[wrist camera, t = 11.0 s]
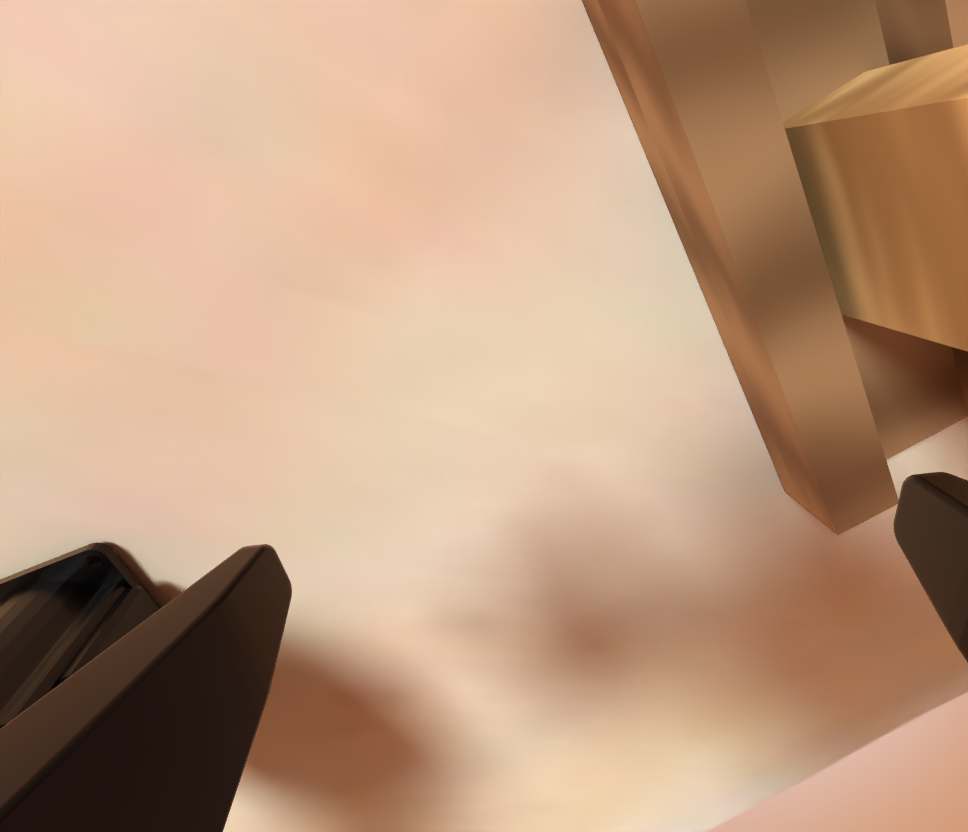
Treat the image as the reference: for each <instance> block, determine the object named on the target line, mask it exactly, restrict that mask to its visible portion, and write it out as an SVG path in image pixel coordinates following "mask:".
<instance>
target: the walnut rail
mask: <svg viewBox="0 0 968 832" xmlns="http://www.w3.org/2000/svg"><path fill="white" fill-rule="evenodd" d="M582 2H583V4H584V6H585V9H586V11H587V14H588V16H589V19H590V21H591V23H592V26H593V28H594V31H595V33H596V35H597V38H598V40H599V43H600V45H601V48H602V50H603V52H604V55H605V57H606V60H607V62H608V64H609V67H610V69H611V72H612V74H613V77H614V79H615V81H616V84H617V86H618V89H619V91H620V94H621V96H622V98H623V101H624V103H625V106H626V108H627V110H628V113H629V115H630V118H631V120H632V123H633V125H634V127H635V130H636V132H637V135H638V137H639V140H640V142H641V144H642V147H643V149H644V152H645V154H646V156H647V159H648V161H649V164H650V166H651V169H652V171H653V173H654V176H655V178H656V181H657V183H658V185H659V188H660V190H661V193H662V195H663V198H664V200H665V202H666V205H667V207H668V210H669V212H670V215H671V217H672V219H673V222H674V224H675V227H676V229H677V231H678V234H679V236H680V239H681V241H682V244H683V246H684V248H685V251H686V253H687V256H688V258H689V261H690V263H691V265H692V268H693V270H694V273H695V275H696V277H697V280H698V282H699V285H700V287H701V290H702V292H703V294H704V297H705V299H706V302H707V304H708V306H709V309H710V311H711V314H712V316H713V319H714V321H715V323H716V326H717V328H718V331H719V333H720V336H721V338H722V340H723V343H724V345H725V348H726V350H727V352H728V355H729V357H730V360H731V362H732V365H733V367H734V369H735V372H736V374H737V377H738V379H739V382H740V384H741V386H742V389H743V391H744V394H745V396H746V398H747V401H748V403H749V406H750V408H751V411H752V413H753V415H754V418H755V420H756V423H757V425H758V427H759V430H760V432H761V435H762V437H763V440H764V442H765V444H766V447H767V449H768V452H769V454H770V457H771V459H772V461H773V464H774V466H775V469H776V471H777V473H778V476H779V478H780V481H781V483H782V486H783V488H784V490H785V492H786V493H787V494H789V495H790V496H791V497H792V498H793V499H795V500H796V501H797V502H798V503H799V504H801V505H802V506H803V507H804V508H805V509H807V510H808V511H809V512H810V513H812V514H813V515H814V516H815V517H816V518H818V519H819V520H820V521H821V522H822V523H824V524H825V525H826V526H827V527H828V528H830V529H831V530H832V531H833V532H834V533H836V534H837V535H839V534H841V533H842V532H844V531H846V530H848V529H850V528H852V527H854V526H856V525H858V524H860V523H862V522H864V521H865V520H867V519H869V518H871V517H873V516H875V515H877V514H879V513H881V512H883V511H885V510H887V509H889V508H890V507H892V506H894V505H896V504H898V497H897V494H896V491H895V487H894V484H893V481H892V478H891V474H890V471H889V468H888V465H887V461H886V459H888V458H890V457H892V456H894V455H896V454H897V453H899V452H901V451H903V450H905V449H907V448H909V447H911V446H912V445H914V444H916V443H918V442H920V441H922V440H924V439H926V438H928V437H929V436H931V435H933V434H935V433H937V432H939V431H941V430H943V429H944V428H946V427H948V426H950V425H952V424H954V423H956V422H958V421H960V420H961V419H963V418H965V417H967V416H968V352H967V351H964V350H961V349H957V348H954V347H950V346H947V345H944V344H940V343H937V342H933V341H930V340H927V339H923V338H920V337H917V336H913V335H910V334H906V333H903V332H900V331H896V330H893V329H889V328H886V327H883V326H879V325H876V324H872V323H869V322H866V321H862V320H859V319H855V318H852V317H849V316H845V315H842V314H841V311H840V308H839V305H838V301H837V298H836V295H835V291H834V288H833V285H832V282H831V278H830V275H829V272H828V269H827V265H826V262H825V259H824V256H823V252H822V249H821V246H820V242H819V239H818V236H817V233H816V229H815V226H814V223H813V220H812V216H811V213H810V210H809V207H808V203H807V200H806V197H805V193H804V190H803V187H802V184H801V180H800V177H799V174H798V171H797V167H796V164H795V161H794V158H793V154H792V151H791V148H790V144H789V141H788V138H787V135H786V131H785V128H784V125H783V122H784V121H786V120H787V119H789V118H790V117H792V116H794V115H795V114H797V113H799V112H800V111H802V110H803V109H805V108H807V107H808V106H810V105H812V104H813V103H815V102H817V101H818V100H820V99H821V98H823V97H825V96H826V95H828V94H830V93H831V92H833V91H834V90H836V89H838V88H839V87H841V86H843V85H844V84H846V83H847V82H849V81H851V80H852V79H854V78H856V77H857V76H859V75H861V74H862V73H864V72H866V71H870V70H873V69H877V68H881V67H885V66H888V65H892V64H896V63H900V62H903V61H907V60H911V59H915V58H918V57H922V56H926V55H930V54H933V53H937V52H941V51H945V50H948V49H952V48H956V47H960V46H963V45H967V44H968V0H582Z"/></svg>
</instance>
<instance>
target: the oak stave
mask: <svg viewBox="0 0 968 832" xmlns="http://www.w3.org/2000/svg"><path fill="white" fill-rule="evenodd" d="M783 125H784V128H785V131H786V135H787V138H788V141H789V144H790V148H791V151H792V154H793V158H794V161H795V164H796V167H797V171H798V174H799V177H800V180H801V184H802V187H803V190H804V193H805V197H806V200H807V203H808V207H809V210H810V213H811V216H812V220H813V223H814V226H815V229H816V233H817V236H818V239H819V242H820V246H821V249H822V252H823V256H824V259H825V262H826V265H827V269H828V272H829V275H830V278H831V282H832V285H833V288H834V291H835V295H836V298H837V301H838V305H839V308H840V311H841V314H842V315H845V316H849V317H852V318H855V319H859V320H862V321H866V322H869V323H872V324H876V325H879V326H883V327H886V328H889V329H893V330H896V331H900V332H903V333H906V334H910V335H913V336H917V337H920V338H923V339H927V340H930V341H933V342H937V343H940V344H944V345H947V346H950V347H954V348H957V349H961V350H964V351H967V352H968V44H967V45H963V46H960V47H956V48H952V49H948V50H945V51H941V52H937V53H933V54H930V55H926V56H922V57H918V58H915V59H911V60H907V61H903V62H900V63H896V64H892V65H888V66H885V67H881V68H877V69H873V70H870V71H866V72H864V73H862V74H861V75H859V76H857V77H856V78H854V79H852V80H851V81H849V82H847V83H846V84H844V85H843V86H841V87H839V88H838V89H836V90H834V91H833V92H831V93H830V94H828V95H826V96H825V97H823V98H821V99H820V100H818V101H817V102H815V103H813V104H812V105H810V106H808V107H807V108H805V109H803V110H802V111H800V112H799V113H797V114H795V115H794V116H792V117H790V118H789V119H787V120H786V121H784V122H783Z"/></svg>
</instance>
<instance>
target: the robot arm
mask: <svg viewBox="0 0 968 832" xmlns="http://www.w3.org/2000/svg"><path fill="white" fill-rule="evenodd" d="M894 533H895V536H896V539H897V541H898V544H899V545H900V547H901V549H902V551H903V552H904V554H905V556H906V558H907V560H908V561H909V563H910V565H911V567H912V569H913V570H914V572H915V574H916V576H917V577H918V579H919V581H920V583H921V585H922V586H923V588H924V590H925V592H926V593H927V595H928V597H929V599H930V601H931V602H932V604H933V606H934V608H935V610H936V611H937V613H938V615H939V617H940V618H941V620H942V622H943V624H944V626H945V627H946V629H947V631H948V632H949V634H950V636H951V637H952V639H953V641H954V642H955V644H956V646H957V647H958V649H959V650H960V652H961V653H962V655H963V656H964V658H965V659H966V661H967V662H968V481H967V480H965V479H962V478H959V477H957V476H954V475H951V474H948V473H944V472H935V473H925V474H916V475H911V476H909V477H907V478H906V479H905V481H904V482H903V485H902V488H901V493H900V497H899V501H898V506H897V510H896V515H895V519H894ZM93 555H94V556H97V557H99V558H100V559H101V560H97V559H96V558H94V557H93ZM291 595H292V588H291V583H290V580H289V578H288V576H287V574H286V572H285V569H284V567H283V565H282V563H281V561H280V559H279V557H278V555H277V553H276V551H275V549H274V548H273V547H272V546H270V545H267V544H262V545H253V546H246V547H243V548H241V549H239V550H238V551H237V552H235V553H234V554H233V555H231V556H230V557H229V558H227V559H226V560H225V561H223V562H222V563H221V564H219V565H218V566H217V567H215V568H214V569H213V570H211V571H210V572H209V573H207V574H206V575H205V576H203V577H202V578H201V579H199V580H198V581H197V582H195V583H194V584H193V585H191V586H190V587H189V588H187V589H186V590H185V591H183V592H182V593H181V594H179V595H178V596H177V597H175V598H174V599H173V600H171V601H170V602H169V603H167V604H166V605H165V606H163V607H162V608H160V606H159V605H158V604H157V603H156V602H155V600H154V599H153V598H152V597H151V595H150V594H149V593H148V592H147V591H146V589H145V588H144V587H143V586H142V585H141V583H140V582H139V581H138V580H137V578H136V577H135V576H134V575H133V574H132V572H131V571H130V570H129V569H128V567H127V566H126V565H125V564H124V563H123V561H122V560H121V559H120V558H119V557H118V555H117V554H116V553H115V552H114V550H113V549H112V548H110V547H109V546H108V545H105V544H103V543H93V544H89V545H87V546H84V547H82V548H79V549H77V550H74V551H72V552H69V553H67V554H64V555H61V556H59V557H56V558H54V559H51V560H49V561H46V562H44V563H41V564H39V565H36V566H34V567H31V568H29V569H26V570H23V571H21V572H18V573H16V574H13V575H11V576H8V577H6V578H3V579H1V580H0V832H223V829H224V826H225V823H226V821H227V818H228V815H229V812H230V809H231V806H232V803H233V800H234V797H235V794H236V791H237V788H238V785H239V782H240V779H241V776H242V773H243V770H244V767H245V764H246V761H247V758H248V755H249V752H250V749H251V746H252V743H253V740H254V737H255V734H256V731H257V728H258V725H259V722H260V719H261V716H262V713H263V710H264V707H265V704H266V701H267V697H268V694H269V691H270V687H271V683H272V679H273V675H274V671H275V667H276V662H277V658H278V653H279V649H280V645H281V640H282V636H283V632H284V627H285V623H286V618H287V614H288V610H289V605H290V601H291Z"/></svg>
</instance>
